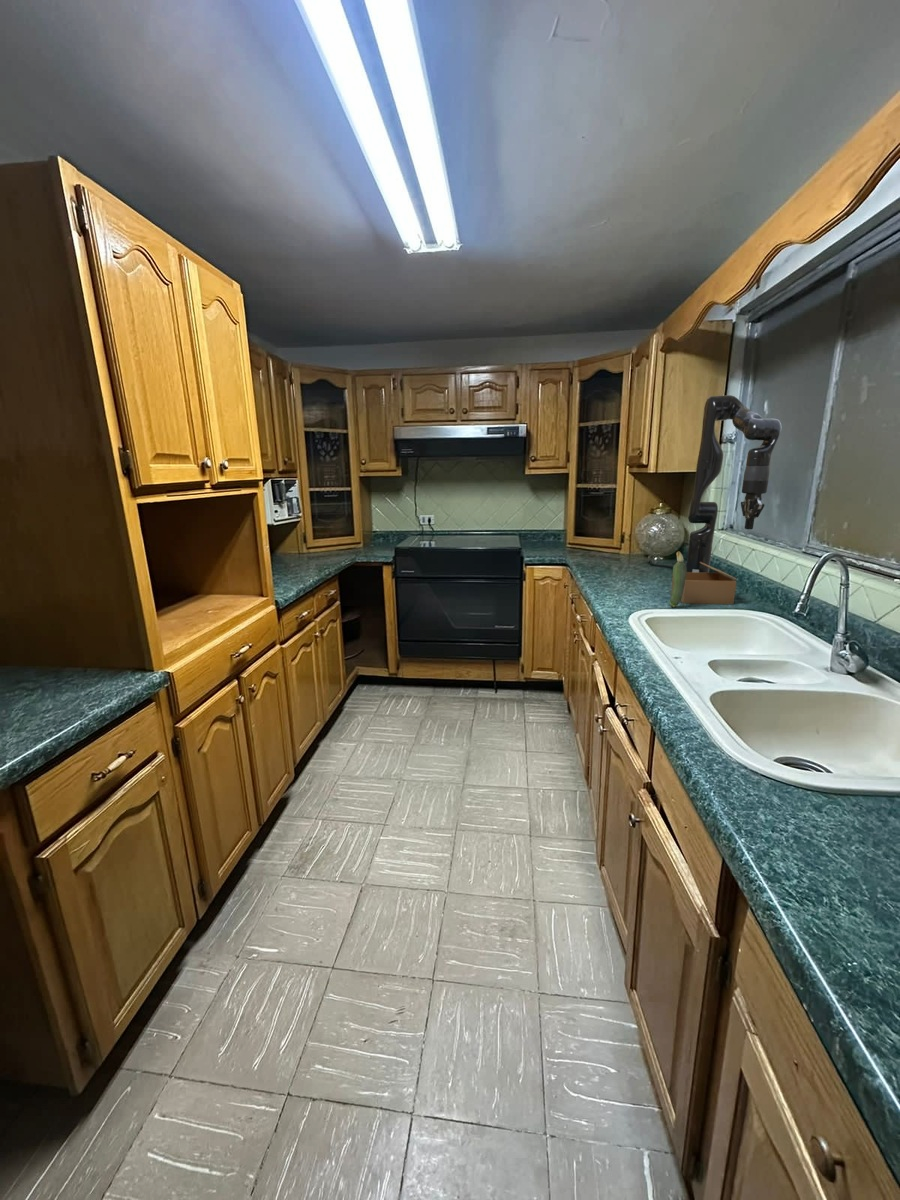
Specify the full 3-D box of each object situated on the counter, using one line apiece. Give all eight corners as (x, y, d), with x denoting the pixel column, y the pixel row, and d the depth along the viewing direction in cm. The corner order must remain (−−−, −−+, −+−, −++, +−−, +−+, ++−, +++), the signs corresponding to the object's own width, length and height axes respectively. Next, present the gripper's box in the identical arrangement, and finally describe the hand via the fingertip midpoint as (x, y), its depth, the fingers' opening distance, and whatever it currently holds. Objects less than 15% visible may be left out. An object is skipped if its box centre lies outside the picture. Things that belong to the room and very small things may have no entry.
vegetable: (679, 606, 171) (686, 550, 166) (684, 609, 167) (691, 552, 161) (666, 606, 171) (672, 550, 166) (671, 609, 167) (677, 552, 162)
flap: (699, 562, 184) (700, 561, 184) (719, 571, 184) (720, 570, 184) (714, 570, 170) (715, 569, 170) (736, 579, 170) (737, 578, 170)
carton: (670, 593, 189) (673, 572, 187) (717, 594, 186) (719, 572, 184) (683, 603, 174) (685, 580, 172) (733, 604, 172) (736, 581, 170)
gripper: (735, 479, 175) (729, 527, 180) (753, 479, 163) (745, 531, 167) (758, 479, 174) (751, 527, 179) (777, 479, 162) (769, 531, 166)
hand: (748, 529), depth 173 cm, fingers closed
